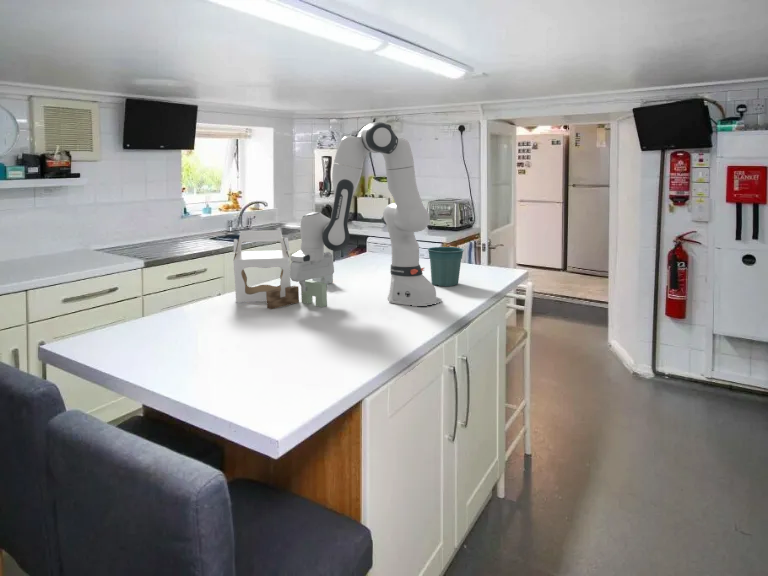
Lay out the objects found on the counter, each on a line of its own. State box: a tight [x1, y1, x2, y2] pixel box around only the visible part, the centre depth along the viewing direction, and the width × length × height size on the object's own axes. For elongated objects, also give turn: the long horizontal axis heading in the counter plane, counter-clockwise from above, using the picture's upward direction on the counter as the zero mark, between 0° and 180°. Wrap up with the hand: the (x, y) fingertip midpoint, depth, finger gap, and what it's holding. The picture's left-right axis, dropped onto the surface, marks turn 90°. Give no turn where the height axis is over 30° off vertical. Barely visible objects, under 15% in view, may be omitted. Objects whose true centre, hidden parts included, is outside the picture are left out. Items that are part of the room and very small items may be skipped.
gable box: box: [233, 229, 292, 303], centre depth 237 cm, size 22×13×28 cm, turn 101°
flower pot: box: [427, 246, 465, 287], centre depth 263 cm, size 16×16×16 cm
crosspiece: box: [300, 279, 328, 308], centre depth 228 cm, size 12×2×9 cm, turn 49°
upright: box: [266, 285, 300, 310], centre depth 227 cm, size 14×2×6 cm, turn 139°
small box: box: [311, 274, 334, 285], centre depth 267 cm, size 8×6×13 cm
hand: (313, 289), depth 228 cm, fingers open, 8 cm apart
